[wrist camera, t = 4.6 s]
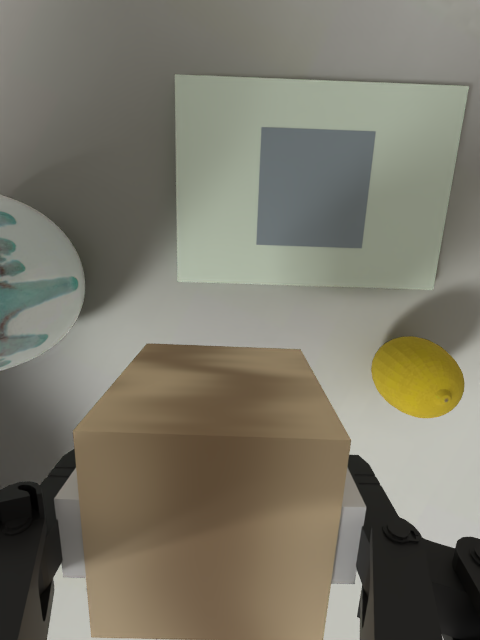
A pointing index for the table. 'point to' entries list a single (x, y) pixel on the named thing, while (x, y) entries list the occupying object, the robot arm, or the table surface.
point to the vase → (35, 283)
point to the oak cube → (211, 496)
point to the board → (313, 180)
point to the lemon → (417, 377)
